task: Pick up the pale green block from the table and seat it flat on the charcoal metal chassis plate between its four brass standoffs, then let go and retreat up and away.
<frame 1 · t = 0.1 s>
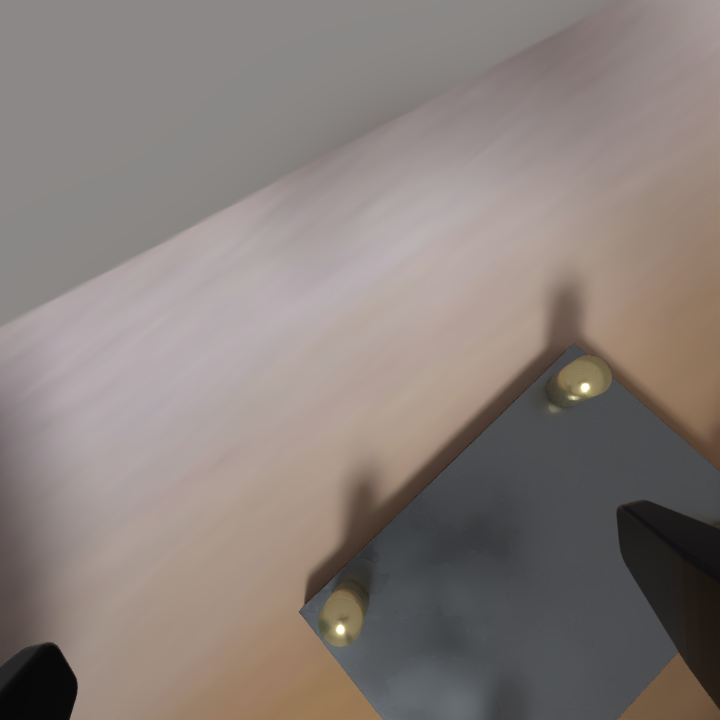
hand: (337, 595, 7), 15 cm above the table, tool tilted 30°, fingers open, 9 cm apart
chassis: (531, 568, 21), on the table
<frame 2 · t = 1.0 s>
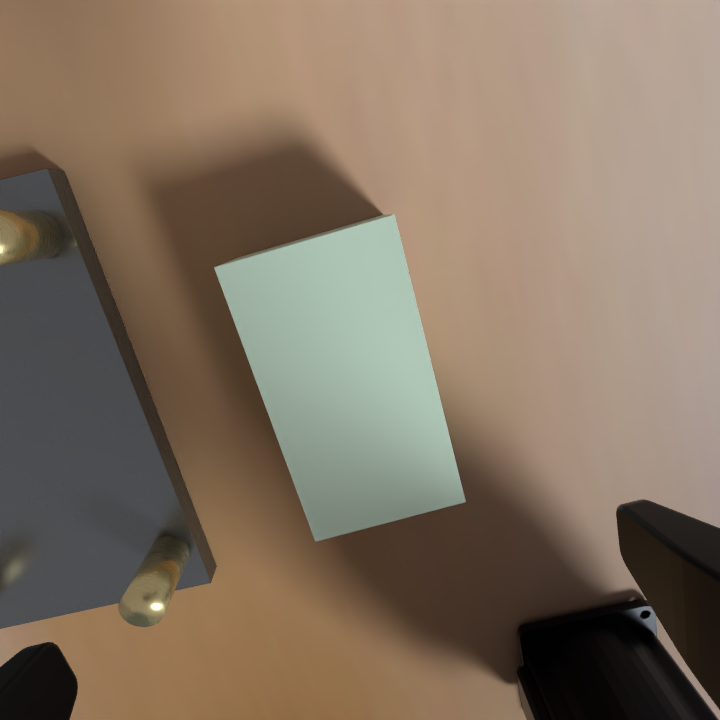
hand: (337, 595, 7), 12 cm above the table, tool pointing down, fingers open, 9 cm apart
pale green block: (348, 359, 19), on the table
chassis: (18, 425, 19), on the table
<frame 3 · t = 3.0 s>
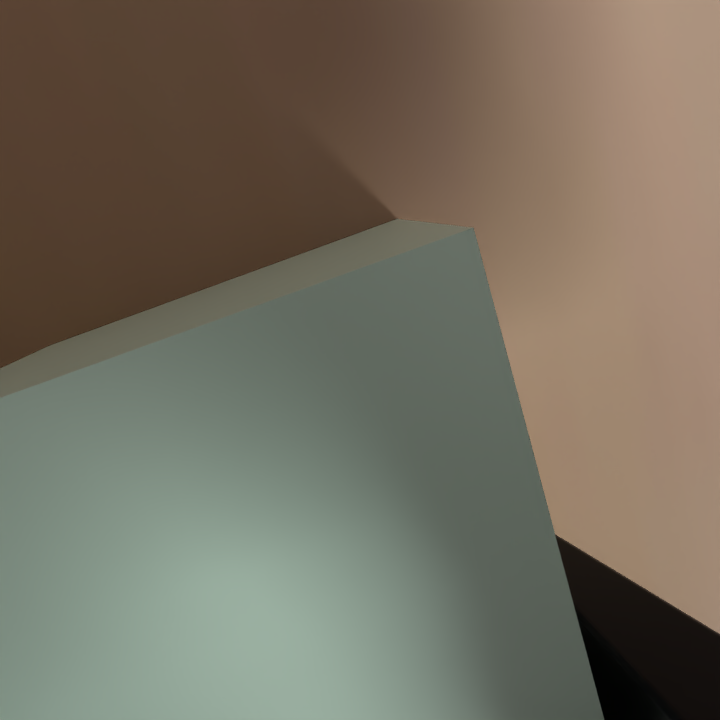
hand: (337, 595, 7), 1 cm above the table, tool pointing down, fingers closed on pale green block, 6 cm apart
pale green block: (336, 550, 8), on the table, touching gripper
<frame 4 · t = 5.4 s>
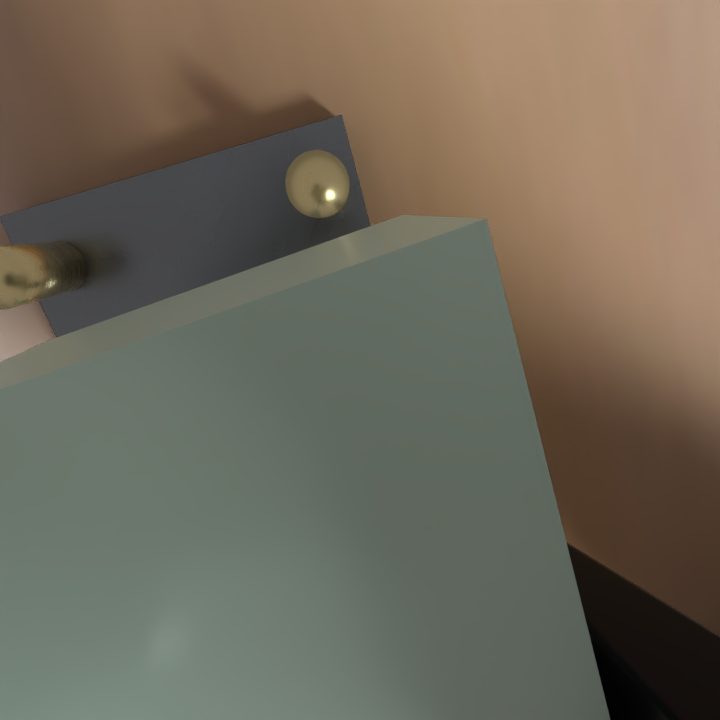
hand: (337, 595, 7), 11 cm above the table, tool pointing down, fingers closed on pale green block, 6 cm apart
pale green block: (337, 548, 8), point 10 cm above the table, touching gripper
chassis: (263, 404, 18), on the table
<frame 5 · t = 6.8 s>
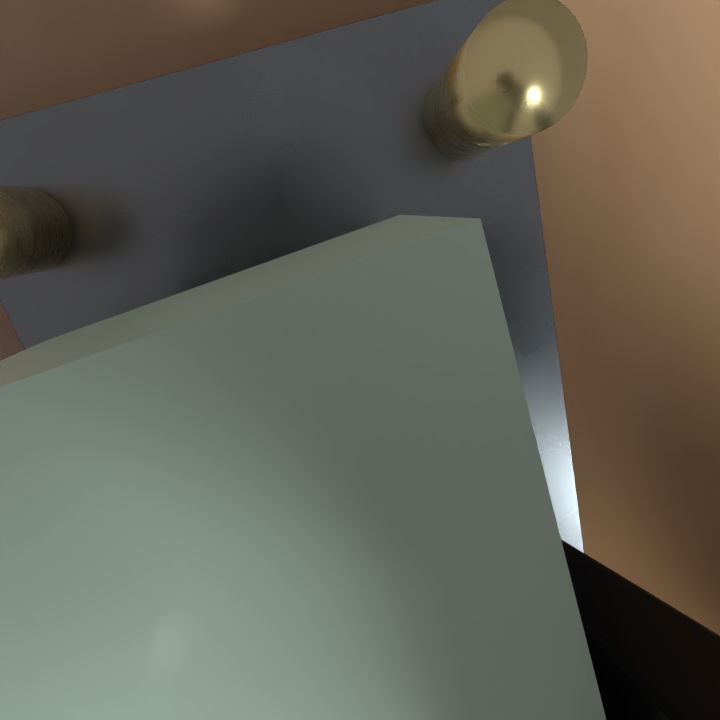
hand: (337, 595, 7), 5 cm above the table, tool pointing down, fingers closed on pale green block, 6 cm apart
pale green block: (335, 549, 8), point 4 cm above the table, touching gripper
chassis: (334, 446, 12), on the table
when the fingers open (3 cm above the table, at t = 8.0 s): pale green block drops 1 cm, resting on chassis.
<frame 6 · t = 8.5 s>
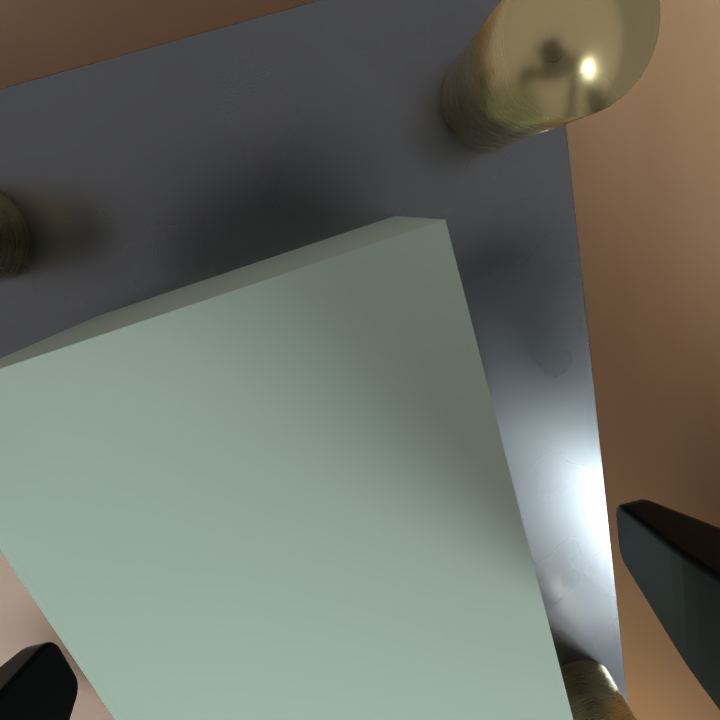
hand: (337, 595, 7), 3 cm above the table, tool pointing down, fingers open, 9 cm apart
pale green block: (336, 501, 10), point 1 cm above the table, touching chassis
chassis: (335, 476, 11), on the table
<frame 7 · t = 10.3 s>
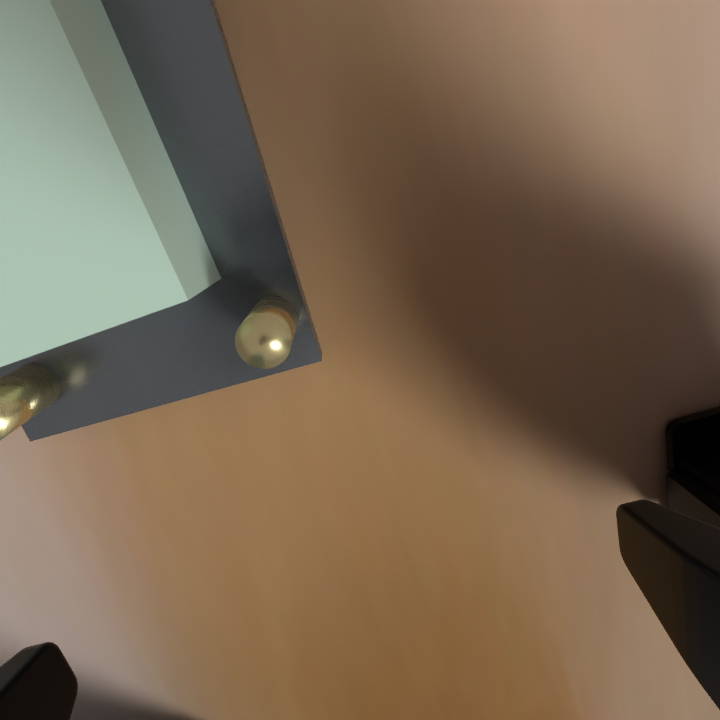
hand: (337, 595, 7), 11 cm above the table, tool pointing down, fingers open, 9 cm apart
pale green block: (70, 153, 15), point 1 cm above the table, touching chassis
chassis: (85, 157, 16), on the table
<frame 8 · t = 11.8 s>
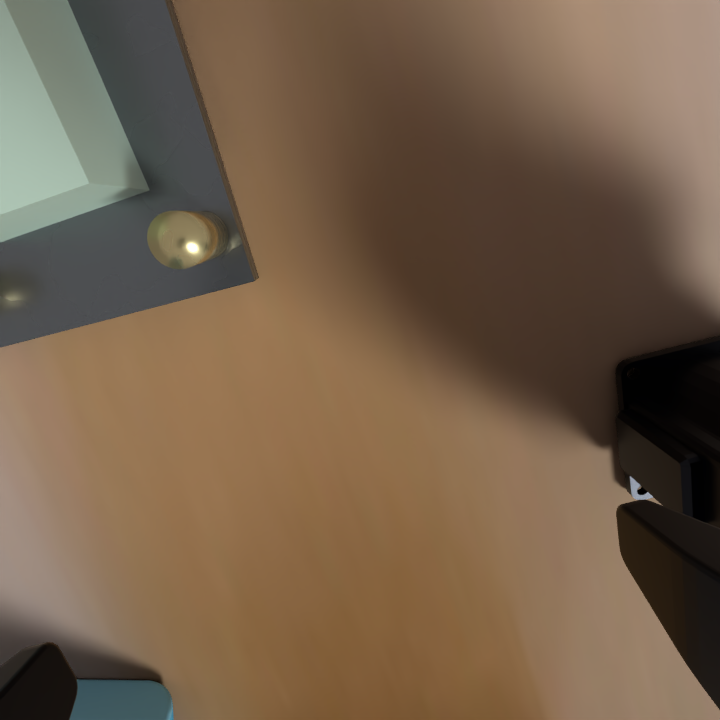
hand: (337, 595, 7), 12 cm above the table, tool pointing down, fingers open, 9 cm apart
chassis: (14, 63, 15), on the table
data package: (63, 706, 24), on the table
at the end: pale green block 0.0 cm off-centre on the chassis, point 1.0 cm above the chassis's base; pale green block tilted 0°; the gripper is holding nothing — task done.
